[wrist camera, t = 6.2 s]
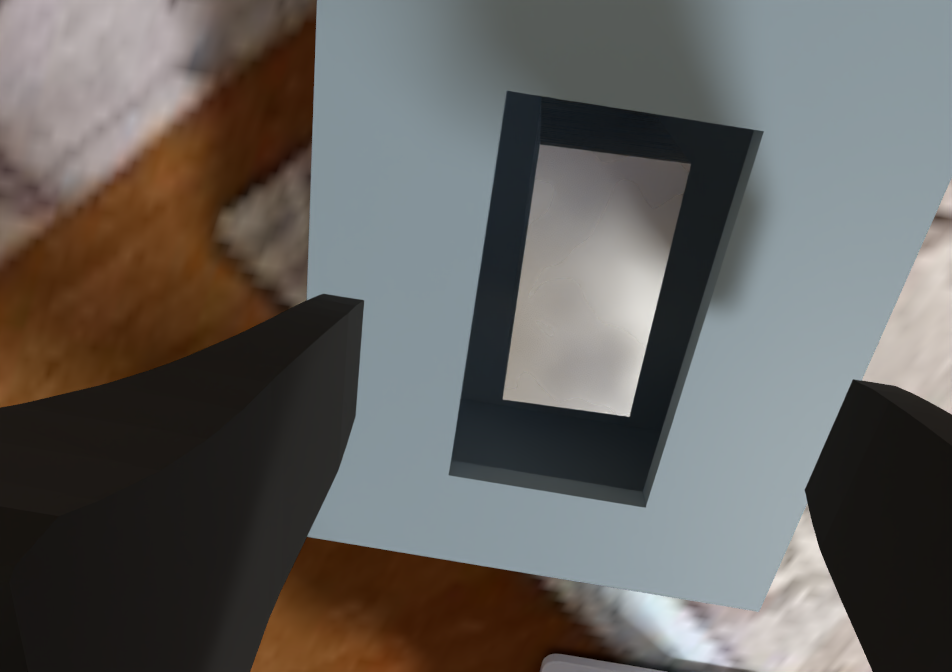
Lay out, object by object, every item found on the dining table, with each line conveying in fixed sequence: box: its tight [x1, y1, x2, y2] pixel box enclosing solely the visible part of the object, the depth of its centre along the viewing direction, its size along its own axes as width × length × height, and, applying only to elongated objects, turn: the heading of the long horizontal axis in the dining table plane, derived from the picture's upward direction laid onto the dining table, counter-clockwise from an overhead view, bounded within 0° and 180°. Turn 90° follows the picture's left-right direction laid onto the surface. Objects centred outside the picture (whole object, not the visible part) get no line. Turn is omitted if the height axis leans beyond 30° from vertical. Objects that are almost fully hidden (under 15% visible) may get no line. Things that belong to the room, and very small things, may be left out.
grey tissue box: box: [307, 0, 952, 612], centre depth 16 cm, size 12×10×6 cm
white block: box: [503, 96, 691, 417], centre depth 16 cm, size 5×2×5 cm, turn 174°
